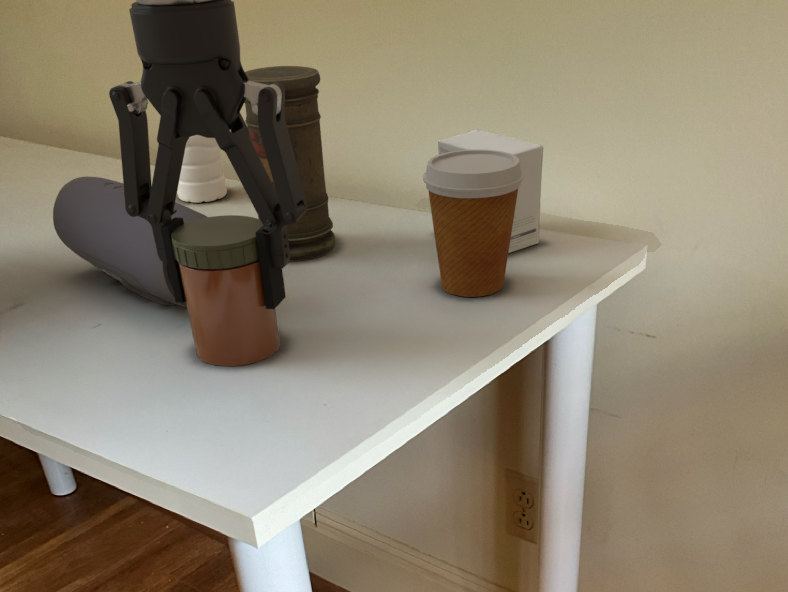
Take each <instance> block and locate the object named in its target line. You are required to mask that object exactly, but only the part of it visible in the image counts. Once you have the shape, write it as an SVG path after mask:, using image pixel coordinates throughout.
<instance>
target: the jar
mask: <svg viewBox="0 0 788 592" xmlns="http://www.w3.org/2000/svg"><path fill="white" fill-rule="evenodd" d="M178 264H179V269H180V274H181V279H182V284H183V289H184V294H185V299H186V304H187V307H186V308H187V309H186V310H187V315H188V319H189V324H190V329H191V335H192V339H193V344H194V350H195V354H196V357H197V358H198V359H199V360H201V361H202V362H204V363H206V364H209V365H213V366H219V367H220V366H221V367H239V366H246V365H250V364H255V363H258V362H261V361H264V360H266V359H268V358H270V357H272V356H273V355H274V354H276V353H277V351H278V350H279V349H280V347H281V338H280V331H279V330H280V329H279V323H278V322H279V321H278V316H277V315H278V314H277V307H276V308H275V309H266V304H265V297H264V290H263V282H262V275H261V268H260V261H259V259H258V260H256V261H254V262H251V263H248V264H245V265H241V266H237V267H231V268H223V269H198V268H191V267H187V266H184V265H182V264H180V263H179V262H178Z"/></svg>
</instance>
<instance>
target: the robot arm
mask: <svg viewBox="0 0 788 592" xmlns="http://www.w3.org/2000/svg"><path fill="white" fill-rule="evenodd" d="M128 12H129V16H130V22H131V26H132V31H133V32H132V33H133V36H134V41H135V46H136V47H135V48H136V52H137V55H138V57H139V59H140V61H141V63H142V74H141V78H140V81H137V82H134V81H132V80H128V81H126V82H123V83H121V84H118V85H115V86H113V87H111V88H110V89H109V92H108V96H109V99H110V102H111V104H112V107H113V110H114V112H115V116H116V118H117V121H118V130H119V131H118V132H119V146H120V158H121V159H120V160H121V170H122V183H123V184H124V196H125V208H126V212H127V213H128V214H129V215H130V216H132V217H136V216H139V217H141V218H143V219H146V220H147V221H148V222H149V223H150V224H151V226H152V230H153V235H154V240H155V243H156V248H157V254H158V257H159V259H160V260H161V261H163V262H167V263H168V268H169V273H170V278H171V283H172V288H173V293H174V297H175V302H177V303H184V302H185V301H186V299H185V294H184V289H183V284H182V279H181V274H180V269H179V264H178V261H177V260H176V259H175V256H174V251H173V246H172V237H171V234H172V232H173V231H174V230H175V229H176V228H177V227H179V226H181V225H183V224H184V221H183V218H176V217H175V218H173V219H172V218H171V216H172V215H173V214H175V213H176V211H177V210H174V205H175V202H176V201H177V200H176V199H177V196H178V192H177V189H178V184H179V179H180V174H181V168H182V163H183V158H184V152H185V147H186V143H187V141H188V139H189V137H191V136H195V135H200V136H203V137H206V138H215V140H216V142H217V144H218V146H219V147H220V150H221V151H223V152H224V153H225V154H226V156H227V159H228V160H229V162H230V164H231V166H232V168H233V170H234V171H235V174H236V176H237V177H238V179H239V181H240V183H241V185H242V186H243V189H244V191H245V193H246V195H247V197H248V199H249V201H250V203H251V205H252V206H253V208H254V211H255V212H256V214H257V217H258V216H259V218H260V220H261V222H262V224H263V226H262V227H261V228H260V229H259V230H258V231H256V232H255V233H256V240H257V247H258V254H259V261H260V268H261V275H262V282H263V290H264V297H265V304H266V309H275V308H276V309H277V307H279V306H280V304H281V303H282V302H283V301H284V300H285V299H286V298H287V296H286V295H287V294H286V289H285V281H284V273H283V269H284V268H285V267H286V266H287V265H288V264H289V263H290V261H289V260H290V250H289V241H288V233H287V225H288V224H294V223H295V222H296V221H298V220H299V219H300V218H301V217H302V216H303V215H304V214H305V213H306V212H307V204H306V200H305V196H304V192H303V188H302V184H301V180H300V176H299V172H298V169H297V165H296V161H295V157H294V153H293V149H292V145H291V141H290V137H289V133H288V129H287V125H286V121H285V118H284V107H285V88H284V86H283V85H282V84H281V83H279V82H275V83H273V84H271V85H266V84H261V83H257V82H253V81H249V79H248V77H247V75H246V73H245V72H246V71H245V69H244V68H243V65H242V61H241V44H240V43H241V42H240V36H239V30H238V22H237V15H236V8H235V1H233V0H135V2H132V3H131V4H130V8H129V9H128ZM246 98H247V99H248V100H249V101H250V103H251V106H252V111H253V113H255V114H256V115H258V125H259V130H260V134H261V138H262V141H263V145H264V149H265V152H266V156H267V160H268V163H269V167H270V171H271V174H272V178H273V182H274V186H275V188H274V186H273V184H272V182H271V180H270V178H269V176H268V174H267V172H266V170H265V168H264V166H263V164H262V162H261V160H260V158H259V156H258V154H257V152H256V150H255V148H254V146H253V144H252V142H251V140H250V132H249V129H248V127H247V124H246V122H245V120H244V117H243V116H242V113H241V111H242V108H243V106H244V105H245V103H244V102H245V100H246ZM149 103H150V104H151V106H152V107H153V108H154V110H155V111H156V112H157V113H158V114H159V115H160V118H159V124H158V128H157V129H158V130H157V135H156V142H157V143H158V146H157V152H156V158H155V163H154V170H153V176H152V170H151V157H150V155H151V153H150V140H149V139H150V137H149V122H148V115H147V109H148V104H149ZM275 189H276V190H275ZM173 210H174V211H173Z"/></svg>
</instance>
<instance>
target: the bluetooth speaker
mask: <svg viewBox="0 0 788 592" xmlns="http://www.w3.org/2000/svg"><path fill="white" fill-rule="evenodd" d="M174 210H177V211H176V213H175V214H173V215H172V216H171V218H172V219H173V218H175V217H176V218H183V221H184V224H185V223H188V222H191V221H194V220H198V219H202V218H207V217H208V216H207V215H205V214H203V213H201V212H198V211H196V210H195V209H192V208H190V207H187V206H186V205H184V204H181V203H179V202H178V201H177V202H176V201H175V205H174ZM174 210H173V211H174ZM52 221H53V227H54V230H55V233H56V235H57V236H58V238H59V240H60V241H61V242H62V243H63V244H64V246H65V247H67V248H68V249H69V250H70V251H72V253H73V254H76V255H77V256H78V257H80V258H81V259H83V260H84V261H86V262H87V263H89V264H91V265H92V266H94V267H95V268H97V269H99V270H100V271H102V272H104V273H105V274H106V275H108V276H109V277H111V278H112V279H114V280H116V281H119V282H120V284H121V285H122V286H123V287H124V288H126V289H127V290H129V291H130V292H133V293H135V294H137V295H139V296H141V297H143V298H145V299H147V300H149V301H150V302H153V303H156V304H159V305H164V306H174V305H177V306H180V307H184V308H187V304H186V301H185V302H184V303H177V302H175V297H174V293H173V288H172V283H171V278H170V273H169V268H168V263H167V262H163V261H161V260H160V259H159V257H158V254H157V248H156V243H155V240H154V235H153V230H152V226H151V224H150V223H149V222H148V221H147V220H146V219H143V218H141V217H139V216H136V217H132V216H130V215H129V214H128V213H127V212H126V208H125V196H124V184H123V182H120V181H116V180H112V179H110V178H109V179H108V178H106V177H105V178H104V177H98V176H80V177H76V178H73V179H71V180H70V181H68V182H67V183H65V184H64V185H63V186H62V187H61V188H60V189H59V191H58V194H57V195H56V197H55V200H54V204H53V209H52Z"/></svg>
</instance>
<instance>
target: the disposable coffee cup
mask: <svg viewBox="0 0 788 592" xmlns="http://www.w3.org/2000/svg"><path fill="white" fill-rule="evenodd" d="M426 164H427V165H426V170H425V172H424V173H423V175H422V180H423V182H424V184H425V187H426V190H427V191H428V199H429V206H430V213H431V220H432V226H433V234H434V240H435V241H434V242H435V248H436V255H437V262H438V269H439V276H440V284H441V289H442V290H443V291H445V292H446V293H447V294H451V295H454V296H458V297H466V298H469V297H471V298H473V297H484V296H490V295H493V294H496V293H497V292H499V291H501V290H502V289H503V288H504V285H505V276H506V269H507V266H508V265H507V264H508V258H509V253H508V252H509V246H510V239H511V232H512V226H513V220H514V213H515V206H516V200H517V194H518V188H519V187H520V185H521V181H522V180H523V178H524V172H523V171H522V170H521V167H520V161H519V158H518V157H517V156H515V155H513V154H510V153H507V152H502V151H495V150H460V151H452V152H447V153H443V154H439V153H438V154H436V155H433V157H430V158H429V160H428V161H427V163H426Z"/></svg>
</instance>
